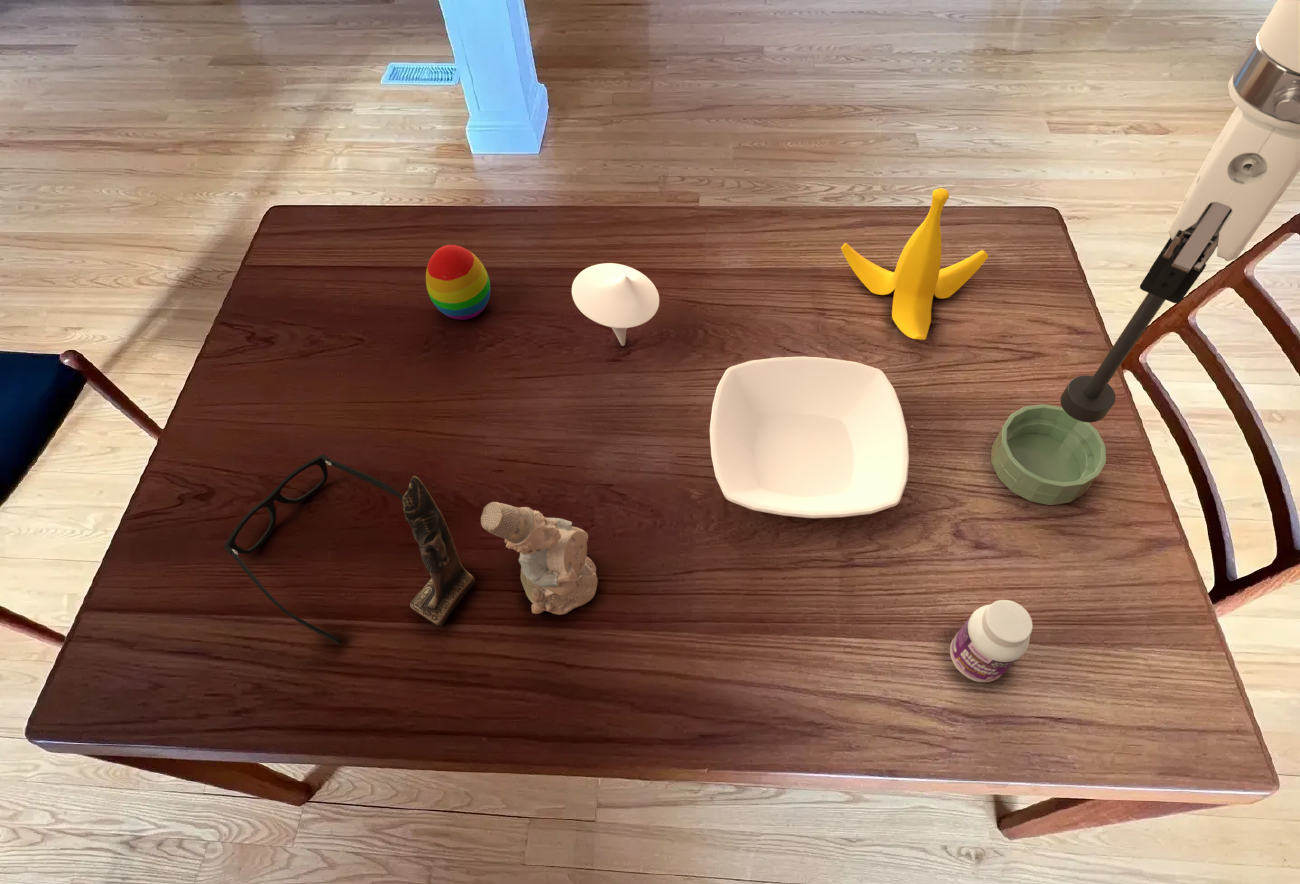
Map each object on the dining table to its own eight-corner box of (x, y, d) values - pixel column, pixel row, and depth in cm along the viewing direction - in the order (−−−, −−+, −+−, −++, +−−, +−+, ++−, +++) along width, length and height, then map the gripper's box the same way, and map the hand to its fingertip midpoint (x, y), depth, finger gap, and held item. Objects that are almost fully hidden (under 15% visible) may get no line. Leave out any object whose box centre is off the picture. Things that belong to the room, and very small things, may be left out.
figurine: (509, 616, 82) (461, 525, 66) (529, 544, 87) (489, 442, 71) (592, 628, 81) (564, 539, 65) (608, 554, 86) (586, 453, 69)
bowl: (909, 543, 85) (920, 519, 80) (707, 536, 86) (707, 513, 82) (888, 384, 97) (897, 356, 92) (711, 381, 99) (711, 354, 94)
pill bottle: (946, 675, 77) (974, 640, 69) (951, 624, 79) (979, 585, 71) (1004, 691, 76) (1040, 657, 68) (1007, 639, 78) (1042, 600, 70)
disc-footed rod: (1113, 400, 79) (1238, 228, 61) (1097, 430, 77) (1220, 261, 59) (1070, 380, 80) (1179, 207, 62) (1052, 408, 79) (1159, 238, 60)
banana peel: (837, 260, 109) (857, 156, 96) (980, 268, 107) (1021, 162, 93) (836, 351, 100) (858, 250, 86) (992, 361, 98) (1040, 260, 84)
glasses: (339, 465, 95) (321, 440, 91) (444, 533, 88) (430, 510, 84) (229, 570, 88) (205, 549, 84) (334, 653, 81) (313, 635, 77)
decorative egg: (502, 286, 110) (486, 230, 102) (486, 330, 105) (468, 274, 97) (446, 282, 111) (425, 226, 103) (428, 325, 107) (405, 270, 98)
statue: (411, 611, 83) (339, 520, 67) (453, 558, 87) (395, 459, 70) (441, 630, 82) (376, 542, 65) (483, 575, 85) (431, 478, 69)
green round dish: (1103, 457, 89) (1121, 434, 86) (1066, 524, 85) (1083, 503, 81) (1013, 413, 93) (1026, 389, 90) (973, 474, 89) (985, 452, 85)
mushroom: (658, 310, 106) (654, 241, 96) (665, 373, 100) (661, 306, 90) (581, 317, 106) (569, 249, 96) (583, 380, 100) (570, 314, 90)
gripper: (1340, 163, 45) (1178, 367, 61) (1401, 37, 52) (1241, 250, 67) (1202, 119, 48) (1081, 324, 63) (1277, 5, 55) (1150, 217, 70)
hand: (1164, 285), depth 65 cm, fingers closed on disc-footed rod, 1 cm apart
